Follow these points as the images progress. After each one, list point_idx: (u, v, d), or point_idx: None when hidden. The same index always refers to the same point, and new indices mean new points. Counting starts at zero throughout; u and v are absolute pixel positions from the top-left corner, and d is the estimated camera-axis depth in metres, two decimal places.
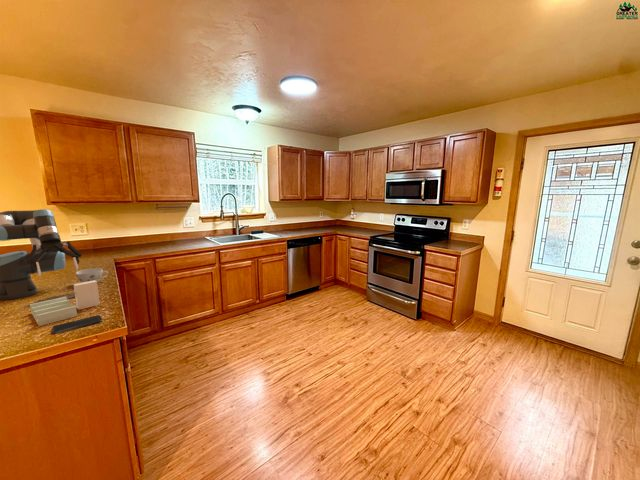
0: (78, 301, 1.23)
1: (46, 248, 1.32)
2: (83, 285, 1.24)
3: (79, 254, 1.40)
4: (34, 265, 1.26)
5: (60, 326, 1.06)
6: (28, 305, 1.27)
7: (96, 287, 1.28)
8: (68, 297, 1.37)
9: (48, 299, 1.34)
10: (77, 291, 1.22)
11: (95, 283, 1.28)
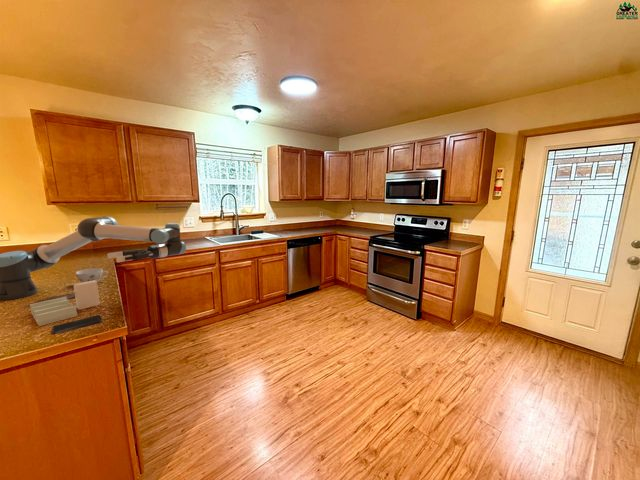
0: (78, 301, 1.23)
1: None
2: (83, 285, 1.24)
3: None
4: (129, 259, 1.33)
5: (60, 326, 1.06)
6: (28, 305, 1.27)
7: (96, 287, 1.28)
8: (68, 297, 1.37)
9: (48, 299, 1.34)
10: (77, 291, 1.22)
11: (95, 283, 1.28)
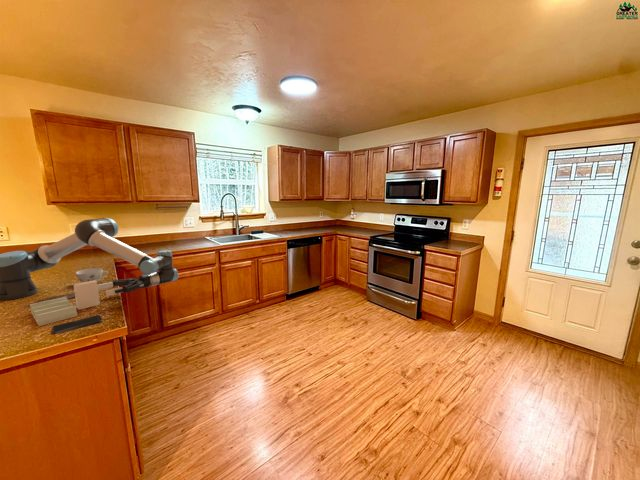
0: (78, 301, 1.23)
1: None
2: (83, 285, 1.24)
3: None
4: None
5: (60, 326, 1.06)
6: (28, 305, 1.27)
7: (96, 287, 1.28)
8: (68, 297, 1.37)
9: (48, 299, 1.34)
10: (77, 291, 1.22)
11: (95, 283, 1.28)
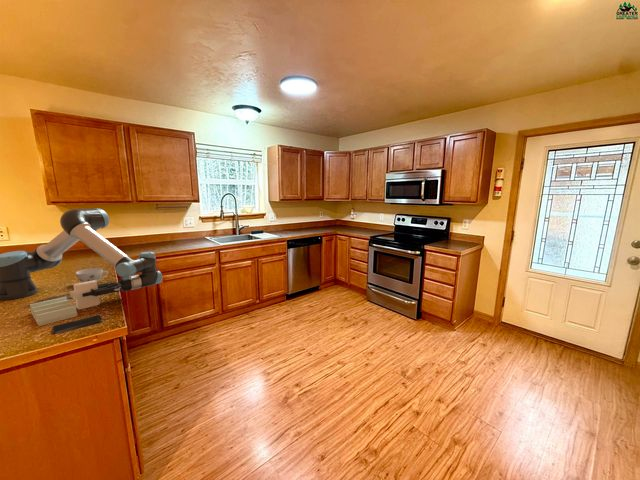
0: (78, 301, 1.23)
1: None
2: (83, 285, 1.24)
3: None
4: None
5: (60, 326, 1.06)
6: (28, 305, 1.27)
7: (96, 287, 1.28)
8: (68, 297, 1.37)
9: (48, 299, 1.34)
10: (77, 291, 1.22)
11: (95, 283, 1.28)
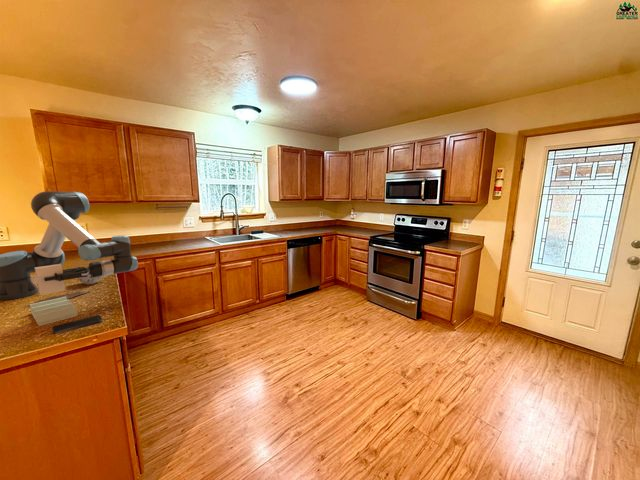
0: (39, 286, 1.12)
1: None
2: (45, 268, 1.13)
3: None
4: None
5: (60, 326, 1.06)
6: (28, 305, 1.27)
7: (61, 271, 1.17)
8: (68, 297, 1.37)
9: (48, 299, 1.34)
10: (38, 275, 1.11)
11: (59, 267, 1.17)
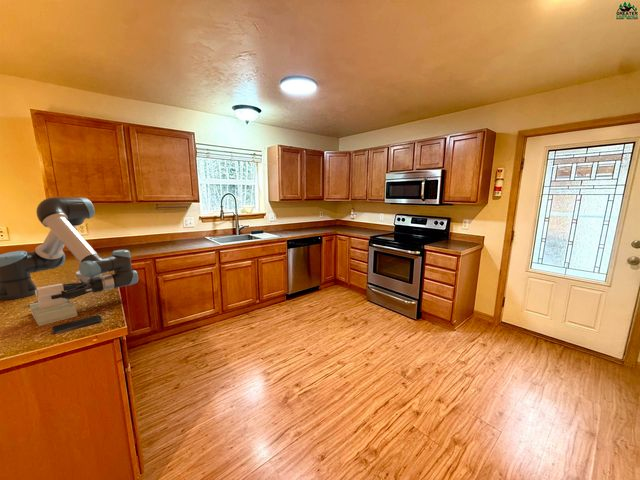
0: (41, 306, 1.13)
1: None
2: (47, 289, 1.14)
3: None
4: None
5: (60, 326, 1.06)
6: (28, 305, 1.27)
7: None
8: None
9: None
10: (40, 295, 1.13)
11: (61, 286, 1.18)
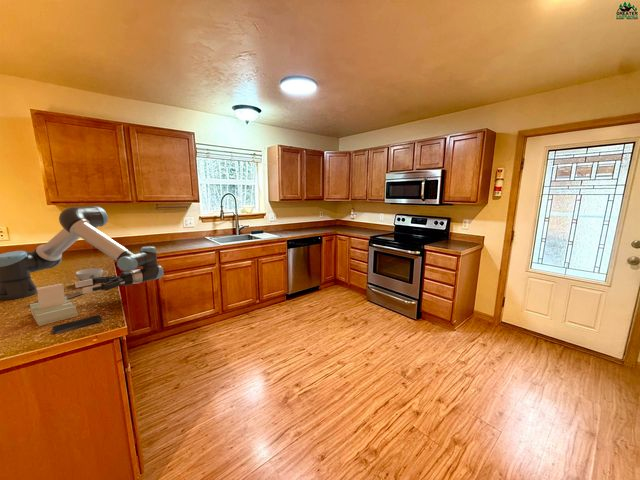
0: (41, 306, 1.13)
1: None
2: (47, 289, 1.14)
3: None
4: None
5: (60, 326, 1.06)
6: (28, 305, 1.27)
7: (62, 291, 1.18)
8: (68, 297, 1.37)
9: None
10: (40, 295, 1.13)
11: (61, 286, 1.18)
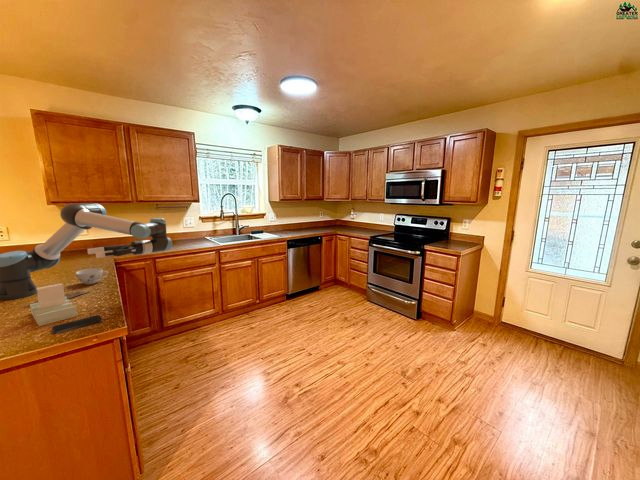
0: (41, 306, 1.13)
1: None
2: (47, 289, 1.14)
3: (105, 251, 1.38)
4: None
5: (60, 326, 1.06)
6: (28, 305, 1.27)
7: (62, 291, 1.18)
8: (68, 297, 1.37)
9: None
10: (40, 295, 1.13)
11: (61, 286, 1.18)
